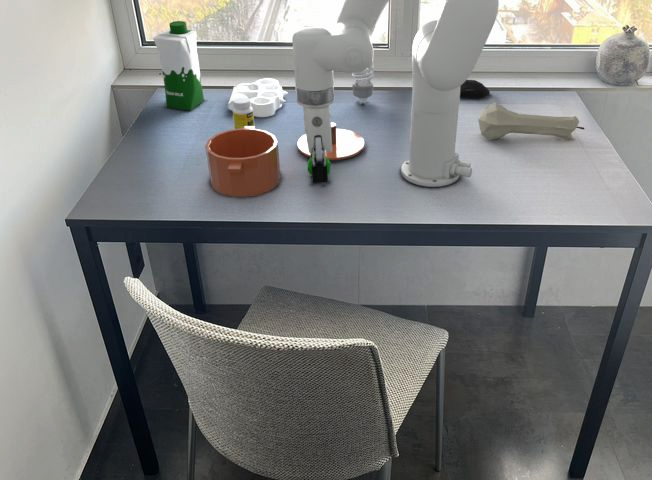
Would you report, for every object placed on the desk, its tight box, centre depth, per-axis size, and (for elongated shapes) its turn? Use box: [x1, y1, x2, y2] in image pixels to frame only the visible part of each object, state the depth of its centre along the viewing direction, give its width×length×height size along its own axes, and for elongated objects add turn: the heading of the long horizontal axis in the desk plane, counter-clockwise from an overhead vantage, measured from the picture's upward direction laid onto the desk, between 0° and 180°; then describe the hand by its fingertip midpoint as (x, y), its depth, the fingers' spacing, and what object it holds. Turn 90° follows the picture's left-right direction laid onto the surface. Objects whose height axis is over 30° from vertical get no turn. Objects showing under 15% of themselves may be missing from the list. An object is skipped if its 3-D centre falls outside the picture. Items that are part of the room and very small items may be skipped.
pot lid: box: [296, 121, 365, 161], centre depth 155 cm, size 15×15×6 cm
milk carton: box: [152, 20, 205, 112], centre depth 171 cm, size 9×9×20 cm
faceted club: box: [478, 102, 585, 141], centre depth 159 cm, size 9×8×25 cm
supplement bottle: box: [232, 97, 255, 129], centre depth 160 cm, size 5×5×8 cm
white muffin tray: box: [227, 78, 289, 118], centre depth 177 cm, size 3×18×15 cm
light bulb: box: [351, 59, 375, 104], centre depth 174 cm, size 6×6×12 cm
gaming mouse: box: [460, 79, 491, 100], centre depth 181 cm, size 6×15×4 cm, turn 81°
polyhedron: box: [306, 155, 332, 176], centre depth 144 cm, size 5×5×5 cm
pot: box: [204, 125, 281, 198], centre depth 142 cm, size 14×20×8 cm
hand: (319, 174), depth 145 cm, fingers closed on polyhedron, 5 cm apart
